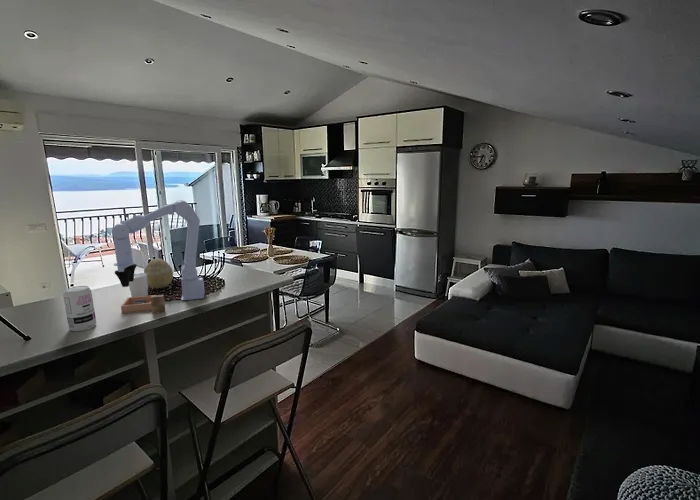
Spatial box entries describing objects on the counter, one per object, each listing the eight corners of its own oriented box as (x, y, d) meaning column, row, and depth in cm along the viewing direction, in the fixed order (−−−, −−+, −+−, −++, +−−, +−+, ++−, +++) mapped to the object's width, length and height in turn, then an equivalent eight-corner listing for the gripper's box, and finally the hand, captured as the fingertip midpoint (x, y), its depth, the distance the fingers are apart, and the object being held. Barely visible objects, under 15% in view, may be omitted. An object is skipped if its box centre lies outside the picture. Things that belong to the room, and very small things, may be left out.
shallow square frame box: (156, 301, 159) (156, 294, 158) (152, 310, 148) (151, 303, 148) (128, 304, 155) (127, 297, 154) (121, 313, 145) (120, 306, 144)
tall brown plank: (165, 310, 148) (163, 294, 147) (164, 312, 146) (162, 296, 145) (153, 312, 147) (151, 295, 145) (152, 313, 145) (150, 297, 144)
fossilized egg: (155, 293, 169) (151, 263, 166) (140, 289, 176) (136, 259, 172) (179, 286, 180) (176, 257, 177) (164, 282, 186) (161, 254, 183)
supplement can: (78, 323, 136) (72, 285, 133) (101, 322, 136) (95, 285, 133) (63, 332, 128) (56, 292, 125) (88, 331, 128) (81, 292, 125)
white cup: (140, 299, 162) (138, 278, 160) (125, 298, 163) (123, 277, 161) (153, 293, 169) (150, 273, 167) (139, 292, 171) (136, 272, 169)
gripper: (117, 249, 154) (122, 280, 157) (107, 257, 140) (112, 290, 143) (136, 248, 156) (140, 278, 159) (127, 255, 143) (131, 288, 145)
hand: (128, 283), depth 151 cm, fingers open, 7 cm apart
